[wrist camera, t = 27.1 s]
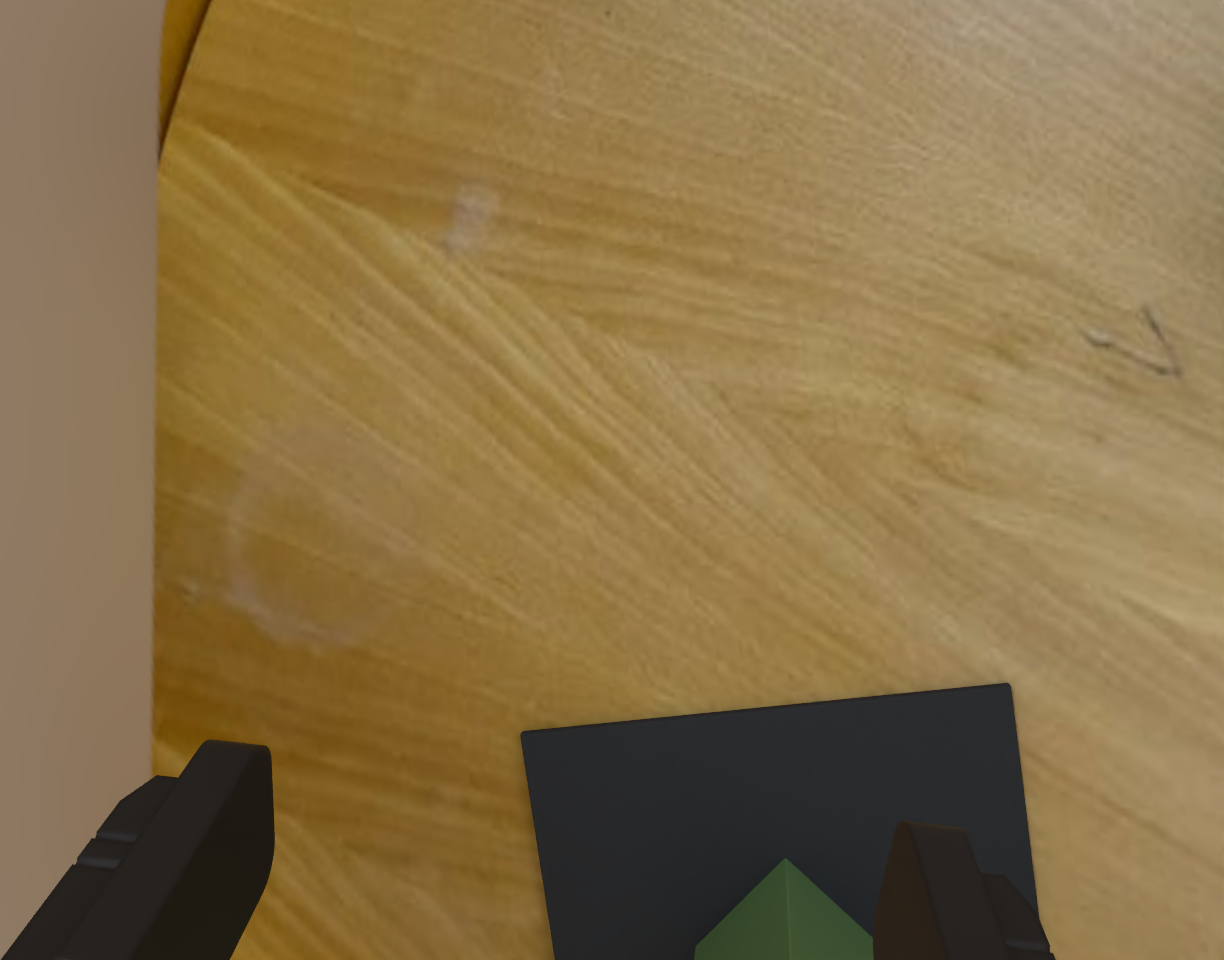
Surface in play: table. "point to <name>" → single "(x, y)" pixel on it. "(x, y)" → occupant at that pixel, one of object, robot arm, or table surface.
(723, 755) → the slate mat
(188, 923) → the robot arm
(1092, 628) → the table surface
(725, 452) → the table surface
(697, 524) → the table surface
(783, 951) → the green block
